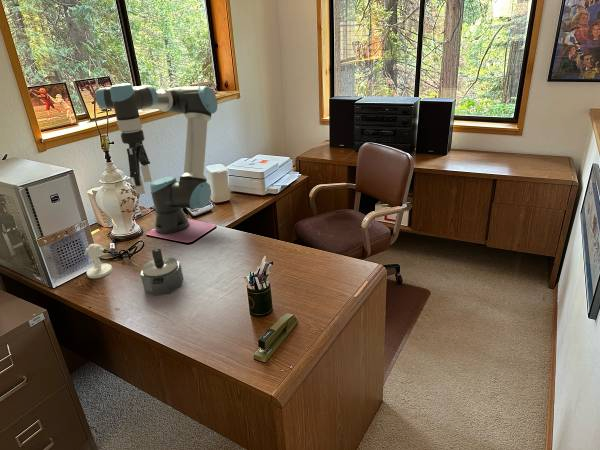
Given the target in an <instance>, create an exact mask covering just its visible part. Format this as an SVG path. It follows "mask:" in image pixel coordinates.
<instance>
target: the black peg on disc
mask: <svg viewBox="0 0 600 450" xmlns="http://www.w3.org/2000/svg"><path fill="white" fill-rule="evenodd" d="M151 254H152V258H153V259H152V260H149V261H147V262H146V263H145V264H143V266H142V267H141V272H142V271H143V274H144V275H145V276H148V277H160V276H164V275H167V274H169V273H171V272H173V271H174V270H175V269H176V268H177V266H178V263H177V261H178V260H177V259H175V257H170V256H169V257H168V256H163V254H162V250H161V248H154V249H152V250H151Z"/></svg>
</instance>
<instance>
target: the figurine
mask: <svg viewBox="0 0 600 450" xmlns="http://www.w3.org/2000/svg"><path fill="white" fill-rule="evenodd" d="M104 250H105V248H103V245H100V244H98V243H90V244H89V245H88V247H86V248H85V252H84V256H85V255H87V254H88V256H89V259H88V263H90V264H91V267H90V268H89V269H87V270H86V276H87V277H88V278H90V279H99V278H100V279H101V278H103V277H106V276H107V275H109V274H111V272H112V271H113V266H112V264H110V263H105V262H102V261H101V259H100V257H101V256H102V255H104V254H105V253H104ZM92 262H93V264H92Z"/></svg>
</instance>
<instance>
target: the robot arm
mask: <svg viewBox="0 0 600 450" xmlns="http://www.w3.org/2000/svg"><path fill="white" fill-rule="evenodd" d="M94 96H95V102H96V104H97V105H98V107H100V109H106V110H113V109H114V113H115V117H116V121H117V122H116V123H115V124H116V125H117V126H118V129H119V131H120V133H119V134H120V138H121V142H122V143H123V144H125V145H127V144H128V146H129V147H128V148H126V152H127V158H128V166H129V178H130V179H132V180H133V183H134V184H133V185H134V187H135V192H136V195H143V194H146V191H145V187H144V183H149V182H151V183H150V186H149V188H150V194H151V198H152V201H153V207H154V210H155V219H154V220H155V221H154V227H155V228H154V229H155V231H156V233H157V232H158V233H160V234H172V233H178V232H180V231H183V230H184V229H186V228H187V227H188V226H189V219H188V217H187V215H186V213H185V212H184V210H183V209H184V208H185V209H186V208H187V209H203V208H206V206H207V205H208V204H209V202H210V201H211V197H212V189H211V188H212V187H211V185H210V184H209V183H208V182H207V181H208V180H207V177H206V176H205V175H204V174H205V173H204V172H205V159H206V148H207V133H208V132H207V131H208V123H209V121H211V120H212V115H213V114H216V112H217V111H218V99H217V98H218V97H217V96H216V92H215V91H214V89H213V88H211V87H210V86H207V85H205V86H203V85H197V86H196V85H194V86H175V87H170V88H159V89H158V90H157V89H156V88H155V87H154V86H153V85H149V84H143V85H139V86H134V85H133V84H131V83H119V84H114V85H111V86H110V87H106V86H105V87H102V88H101V87H100V88H98V89H97V90H96V92H95V94H94ZM139 110H158V111H160V112H169V113H176V114H183V115H184V117H185V119H186V120H187V124H186V137H185V139H186V140H185V148H184V149H185V152H184V163H183V164H184V167H183V173H182V174H181V175H180V176H179V181H177V178H176V177H175V176H171V175H170V176H165V177H162V178H158V179H156V180H152V177H151V170H150V168H149V167H150V166H149V165H150V164H151V161H149V157H148V154H147V152H146V150H145V146H144V144H143V141H145V134H144V131H143V129H142V128H143V125H142V122H141V118H140V113H139ZM140 171H141V172H140Z"/></svg>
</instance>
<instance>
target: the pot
mask: <svg viewBox="0 0 600 450" xmlns="http://www.w3.org/2000/svg"><path fill="white" fill-rule="evenodd" d="M177 263H178V266H177V268H176V269H175V270H174V271H173V272H171V273H169V274H167V275H164V276H160V277H148V276H145V275H144V274H143V271H142V270H141V272H140V278H141V281H142V285H143V290H144V292H146V293H148V294H150V295H152V296H154V297H156V296H162V295H171V294H172V293H173V292H175V291H177V290H178V289H180V288H181V286H183V282H184V276H183V271H182V266H181V262H180V261H179V260H177Z"/></svg>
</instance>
